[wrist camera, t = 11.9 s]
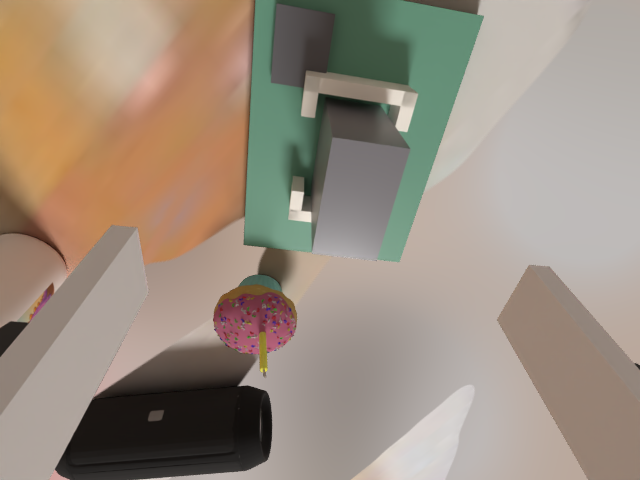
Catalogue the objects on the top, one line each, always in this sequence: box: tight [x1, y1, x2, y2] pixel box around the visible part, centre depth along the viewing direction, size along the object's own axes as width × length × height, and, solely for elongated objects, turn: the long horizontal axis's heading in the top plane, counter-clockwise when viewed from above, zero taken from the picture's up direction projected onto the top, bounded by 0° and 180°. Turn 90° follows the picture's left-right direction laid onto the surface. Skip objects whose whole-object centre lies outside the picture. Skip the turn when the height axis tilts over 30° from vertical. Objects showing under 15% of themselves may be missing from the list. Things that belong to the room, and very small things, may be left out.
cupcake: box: [213, 275, 297, 377], centre depth 36 cm, size 9×8×12 cm
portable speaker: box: [55, 386, 272, 480], centre depth 47 cm, size 26×10×10 cm, turn 96°
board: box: [244, 0, 484, 262], centre depth 30 cm, size 22×16×4 cm
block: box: [311, 97, 410, 261], centre depth 27 cm, size 9×4×10 cm, turn 171°
